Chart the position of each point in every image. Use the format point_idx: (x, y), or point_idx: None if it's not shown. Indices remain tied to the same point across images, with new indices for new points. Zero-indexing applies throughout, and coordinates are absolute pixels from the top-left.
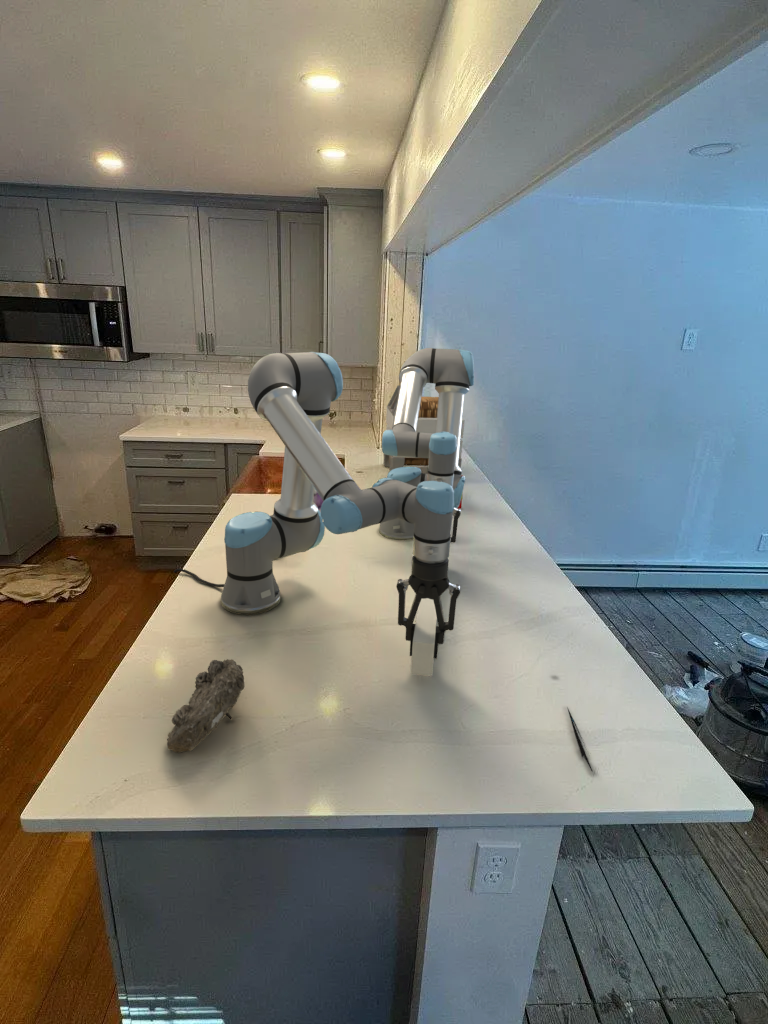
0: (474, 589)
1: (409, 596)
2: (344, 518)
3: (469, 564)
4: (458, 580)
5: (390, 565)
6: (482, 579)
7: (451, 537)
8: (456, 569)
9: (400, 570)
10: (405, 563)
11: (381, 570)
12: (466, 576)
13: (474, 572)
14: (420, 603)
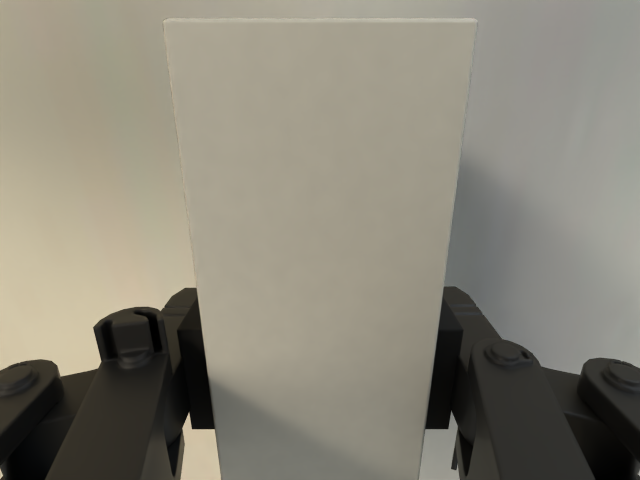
0: (543, 365)
1: None
2: None
3: (602, 14)
4: (472, 288)
5: (25, 172)
6: (625, 247)
7: (586, 433)
8: (482, 135)
9: (113, 231)
10: (113, 114)
11: (2, 256)
12: (532, 228)
13: (602, 157)
14: None
